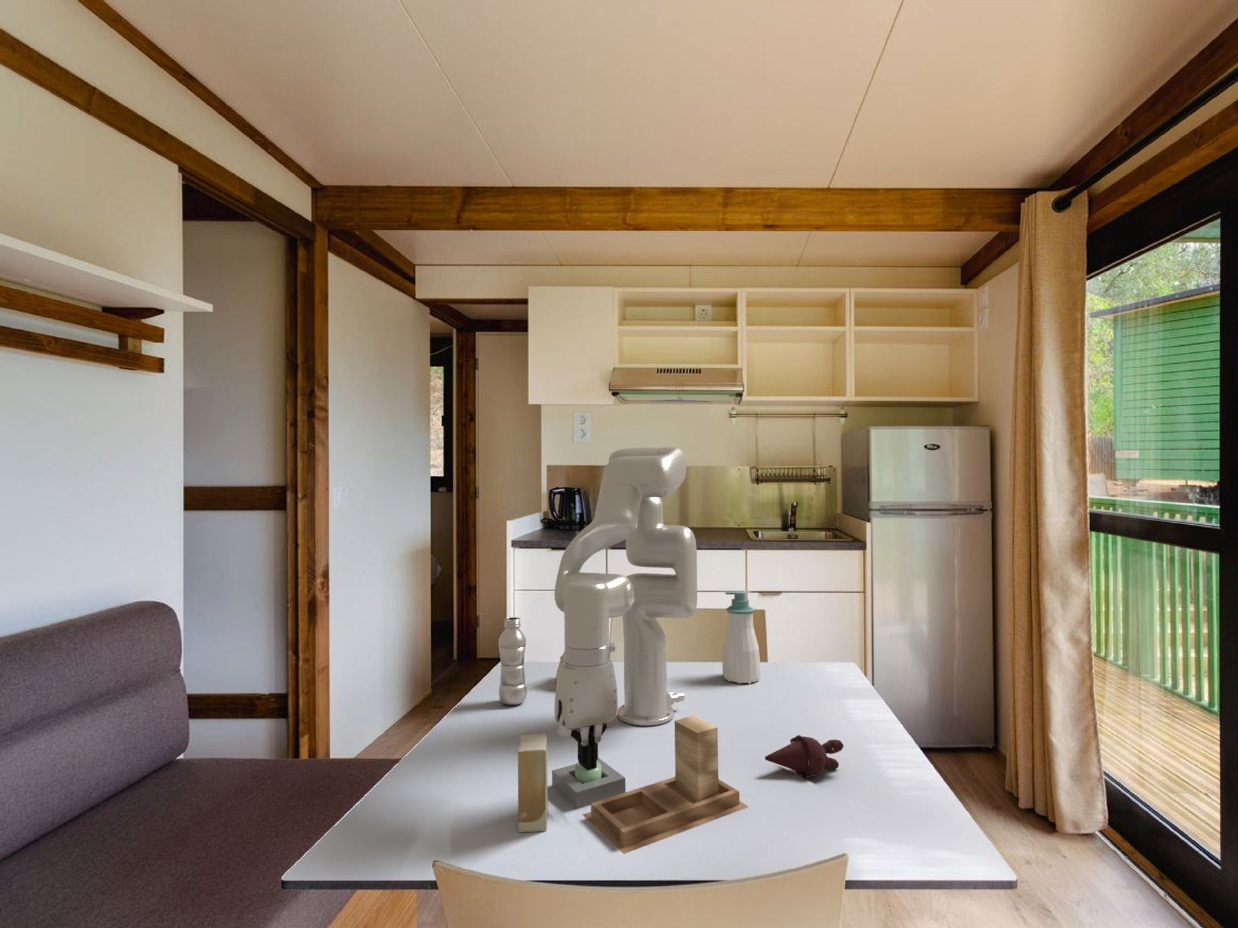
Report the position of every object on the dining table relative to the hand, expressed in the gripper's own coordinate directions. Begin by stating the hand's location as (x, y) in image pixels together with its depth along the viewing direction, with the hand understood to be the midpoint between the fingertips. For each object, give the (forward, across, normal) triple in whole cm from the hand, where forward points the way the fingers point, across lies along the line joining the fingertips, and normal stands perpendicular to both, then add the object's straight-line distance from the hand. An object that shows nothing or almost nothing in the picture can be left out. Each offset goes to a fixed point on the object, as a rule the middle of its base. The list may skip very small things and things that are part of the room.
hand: (587, 765), depth 103 cm
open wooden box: (+5, -7, +12) cm, 15 cm away
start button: (+3, 0, 0) cm, 4 cm away
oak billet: (+4, -13, +12) cm, 18 cm away
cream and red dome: (+5, -27, -53) cm, 59 cm away
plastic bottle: (+5, -6, -49) cm, 49 cm away
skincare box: (+5, +11, +2) cm, 12 cm away
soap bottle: (+5, -64, -33) cm, 72 cm away
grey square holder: (+5, 0, 0) cm, 5 cm away
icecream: (+5, -36, +14) cm, 39 cm away
